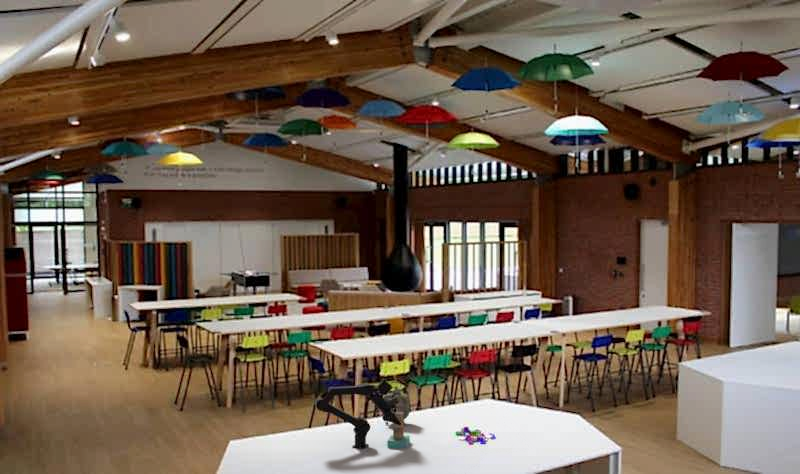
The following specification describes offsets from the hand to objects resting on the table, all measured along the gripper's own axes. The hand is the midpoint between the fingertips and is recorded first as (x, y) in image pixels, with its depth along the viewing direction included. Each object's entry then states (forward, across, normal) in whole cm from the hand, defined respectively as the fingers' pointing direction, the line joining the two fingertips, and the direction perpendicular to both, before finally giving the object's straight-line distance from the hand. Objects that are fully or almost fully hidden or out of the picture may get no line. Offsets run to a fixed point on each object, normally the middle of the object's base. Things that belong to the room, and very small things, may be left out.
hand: (400, 422), depth 357 cm
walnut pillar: (+5, 0, +7) cm, 8 cm away
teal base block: (+8, 0, +10) cm, 12 cm away
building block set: (+37, +15, -19) cm, 44 cm away
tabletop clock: (+4, +38, +12) cm, 40 cm away
